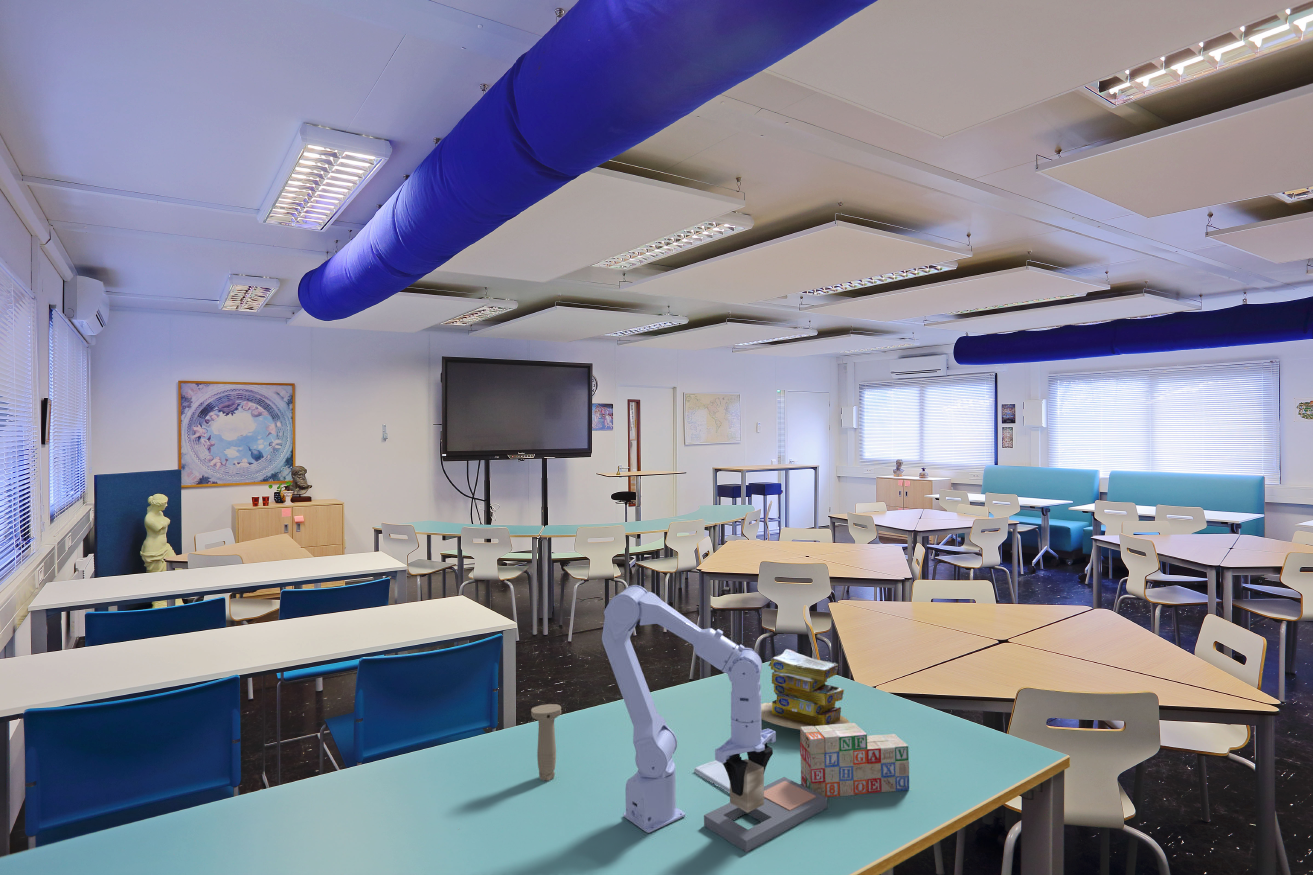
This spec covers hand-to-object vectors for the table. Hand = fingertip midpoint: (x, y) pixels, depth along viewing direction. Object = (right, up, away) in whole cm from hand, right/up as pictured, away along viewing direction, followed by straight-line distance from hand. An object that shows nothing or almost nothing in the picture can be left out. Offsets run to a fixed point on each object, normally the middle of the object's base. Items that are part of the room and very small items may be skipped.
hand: (746, 788), depth 129 cm
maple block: (0, -3, 0) cm, 3 cm away
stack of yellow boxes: (+20, -8, +47) cm, 52 cm away
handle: (-41, -8, +20) cm, 46 cm away
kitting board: (+4, -7, +3) cm, 9 cm away
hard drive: (-2, -8, +19) cm, 21 cm away
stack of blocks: (+25, -7, +15) cm, 29 cm away
